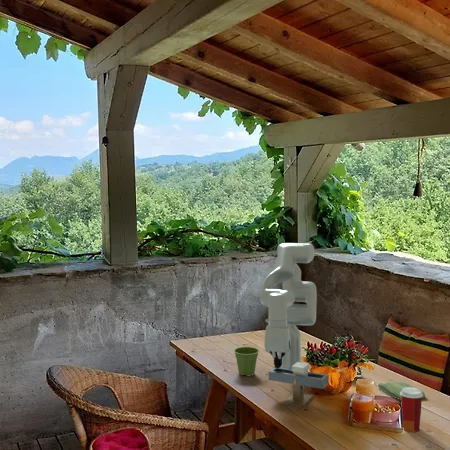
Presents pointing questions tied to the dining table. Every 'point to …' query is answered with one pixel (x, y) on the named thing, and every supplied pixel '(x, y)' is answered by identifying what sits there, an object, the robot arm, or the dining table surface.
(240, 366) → the plant pot
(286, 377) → the balance beam
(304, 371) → the rider
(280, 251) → the robot arm
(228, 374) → the dining table surface
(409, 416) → the paper cup
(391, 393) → the washcloth
